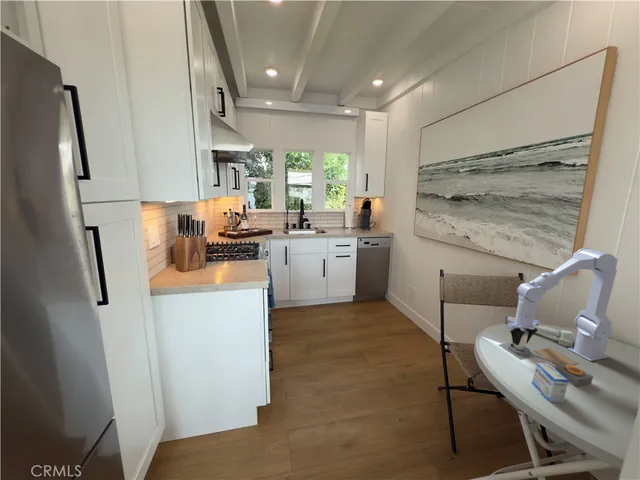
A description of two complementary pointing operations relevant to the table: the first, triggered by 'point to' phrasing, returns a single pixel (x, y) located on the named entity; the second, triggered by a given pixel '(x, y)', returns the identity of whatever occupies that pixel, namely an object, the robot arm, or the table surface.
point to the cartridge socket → (517, 353)
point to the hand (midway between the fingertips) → (519, 342)
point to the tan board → (555, 356)
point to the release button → (574, 370)
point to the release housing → (573, 379)
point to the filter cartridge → (522, 341)
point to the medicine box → (550, 382)
